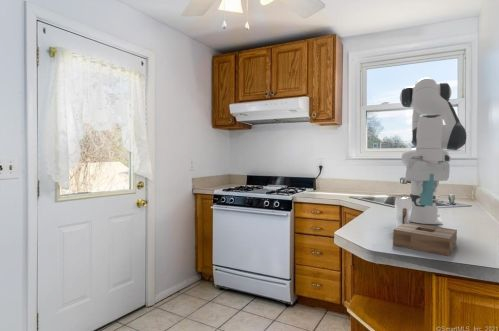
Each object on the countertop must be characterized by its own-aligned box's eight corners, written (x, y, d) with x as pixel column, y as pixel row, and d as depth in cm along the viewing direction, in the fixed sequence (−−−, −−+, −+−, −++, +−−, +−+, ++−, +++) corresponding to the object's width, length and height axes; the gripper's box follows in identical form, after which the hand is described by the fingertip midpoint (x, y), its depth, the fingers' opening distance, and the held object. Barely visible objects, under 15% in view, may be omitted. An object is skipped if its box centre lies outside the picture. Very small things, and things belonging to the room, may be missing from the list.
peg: (420, 203, 119) (422, 173, 118) (432, 204, 116) (434, 173, 116) (419, 204, 115) (421, 173, 115) (432, 206, 113) (433, 174, 113)
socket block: (405, 236, 129) (406, 222, 129) (456, 245, 117) (456, 229, 117) (392, 245, 116) (393, 229, 115) (448, 256, 104) (449, 238, 104)
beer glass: (390, 228, 142) (391, 197, 142) (401, 228, 145) (403, 196, 144) (402, 232, 136) (404, 199, 135) (414, 231, 138) (415, 198, 138)
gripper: (417, 155, 108) (415, 194, 109) (453, 157, 117) (451, 193, 117) (402, 155, 114) (400, 192, 114) (437, 157, 122) (436, 191, 123)
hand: (426, 192), depth 116 cm, fingers closed on peg, 5 cm apart
